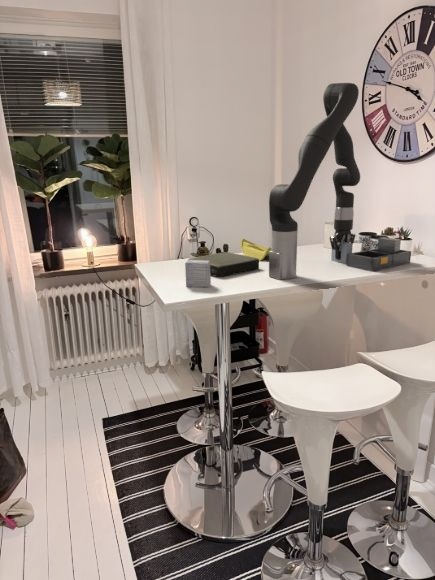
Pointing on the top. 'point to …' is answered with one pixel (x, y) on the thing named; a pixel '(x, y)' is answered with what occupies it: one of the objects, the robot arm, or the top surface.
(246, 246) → the plastic component
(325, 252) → the top surface
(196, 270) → the medicine box
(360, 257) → the tray
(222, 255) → the network switch
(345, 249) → the light blue block
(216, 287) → the top surface
